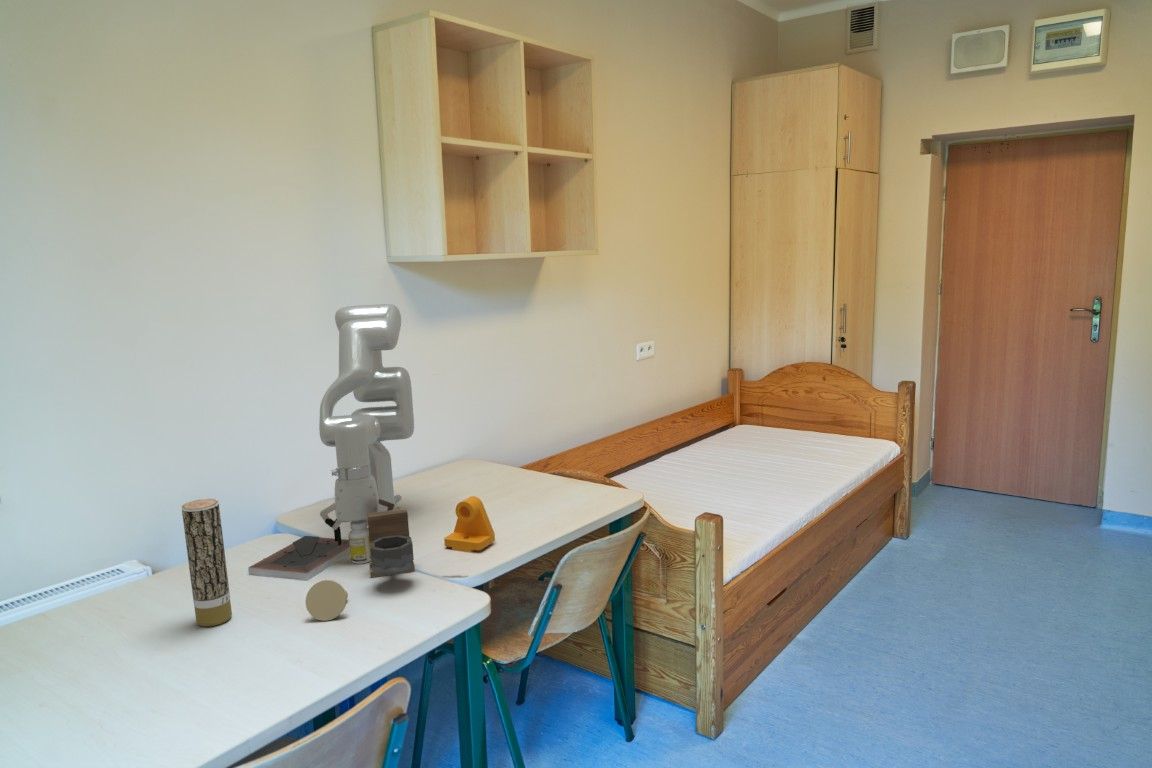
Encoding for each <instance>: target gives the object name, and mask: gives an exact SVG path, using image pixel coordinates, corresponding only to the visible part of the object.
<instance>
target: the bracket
mask: <svg viewBox="0 0 1152 768" xmlns="http://www.w3.org/2000/svg"><path fill="white" fill-rule="evenodd" d="M485 508H486V507H485V506H484V504H483V501H482V500H481V499H480V497H477V496H474V495H472V496H469V497H467V498H465V499H464V500H462V501H460V502H459V503H457V504H456V507H455V514H456V515H455V516H456V517H457V519H456V523H455V525H454V526H455V527H454V530H453V532H451V533H450V534H448V535H447V536H445V537H443V539H444V547H449V548H451V550H452V551H457V552H464V553H473V552H474V551H482V550H483V549H485V548H486V547H488V546H489V545H491V544H493V543H494V542H495V541H496V535H495V534H496V533H495V531H494V529H493V526H492V523H491V521H490V518H489V516H488V514H487V511H486V509H485Z"/></svg>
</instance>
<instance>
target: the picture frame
mask: <svg viewBox="0 0 1152 768" xmlns="http://www.w3.org/2000/svg"><path fill="white" fill-rule="evenodd" d="M347 556H350V545H349V539H345V538H344V539H343V538H341V545H340V546H338V541H336V542H335V538H333V537H331V538H330V537H320V536H313V535H304V536H302V537H300V538H298V539H297V540H295V541H293V542H292V543H290V544H289V545H287V546H285V547H283V548H281V549H280V550H278V551H276V552H274V553H272V554H271V555H269V556H267V557H264V558H263V559H262V560H259V561H258V562H256V563H254V564H252V565H251V566H249V567H248V568H247V571H248V575H249V576H251V575H252V576H259V577H269V578H279V579H289V580H299V581H300V580H301V581H310V580H311V579H312V578H314V577H315V576H317V575H319V574H320V573H322V572H324V571H325V570H327V569H328V568H330V567H331V566H333V565H334V564H336V563H337V562H339V561H341V560H342V559H344V558H345V557H347Z"/></svg>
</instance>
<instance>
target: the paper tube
mask: <svg viewBox="0 0 1152 768" xmlns="http://www.w3.org/2000/svg"><path fill="white" fill-rule="evenodd" d="M181 514H182V521H183V529H184V538H185V545H186V553H187V560H188V561H187V562H188V569H189V576H190V577H189V578H190V583H191V593H192V599H193V601H192V602H193V607H194V613H195V621H196V623H197V625H198V626H201V627H215V626H219V625H222V624H225V623H226V622H228V621H229V620H230V619H231V617H232V615H233V614H232V613H233V612H232V605H231V604H232V602H231V594H230V585H229V578H228V569H227V560H226V553H225V552H226V551H225V545H224V544H225V543H224V536H223V528H222V519H221V510H220V503H219V500H218V499H216V498H203V499H195V500H192V501H189V502H186V503H184V504H182V505H181Z"/></svg>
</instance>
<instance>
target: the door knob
mask: <svg viewBox="0 0 1152 768" xmlns="http://www.w3.org/2000/svg"><path fill="white" fill-rule="evenodd" d="M348 597H349V593H348V591H347V590H345V588H344V586H343V585H342V584H341V583H340V582H338V581H335V580H332V579H324V580H320V581H319V582H316V583H314V584H313V585H312V586H311V587H310V588H309V590H308V591H307V593H306V596H305V608H306V611H307V612H308V613H309V614H310V616H311V617H312V618H314V619H316V620H318V621H322V622H323V621H331V620H334V619H336V618H337V617H339V616H340V615H341V614H342V613H343V612H344V610H345V608H346V605H347V603H348Z"/></svg>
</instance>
